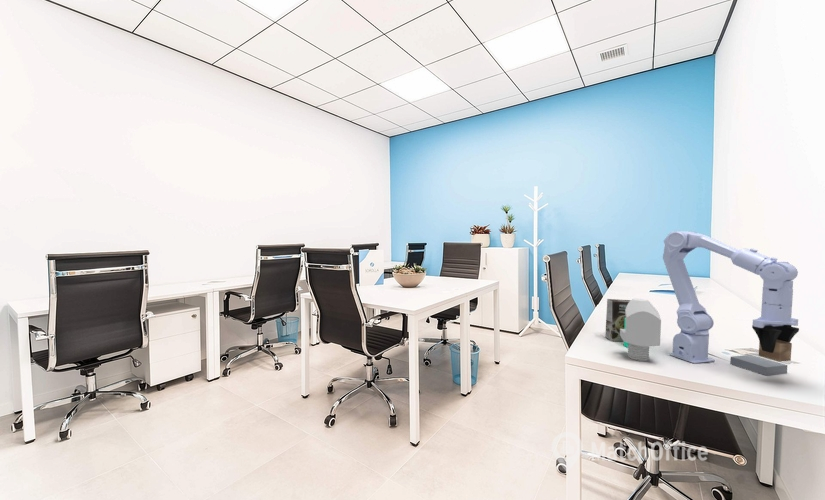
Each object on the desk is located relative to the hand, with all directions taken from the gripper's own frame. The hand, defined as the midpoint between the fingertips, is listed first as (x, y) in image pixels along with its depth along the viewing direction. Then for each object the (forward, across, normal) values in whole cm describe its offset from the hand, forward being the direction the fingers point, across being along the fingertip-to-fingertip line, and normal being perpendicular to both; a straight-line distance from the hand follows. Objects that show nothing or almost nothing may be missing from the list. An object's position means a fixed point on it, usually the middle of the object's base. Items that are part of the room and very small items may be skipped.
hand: (773, 350), depth 92 cm
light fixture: (+9, -22, +22) cm, 33 cm away
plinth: (+9, +8, +8) cm, 14 cm away
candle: (+9, -14, +32) cm, 36 cm away
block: (+2, 0, 0) cm, 2 cm away
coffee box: (+9, -11, +40) cm, 43 cm away
